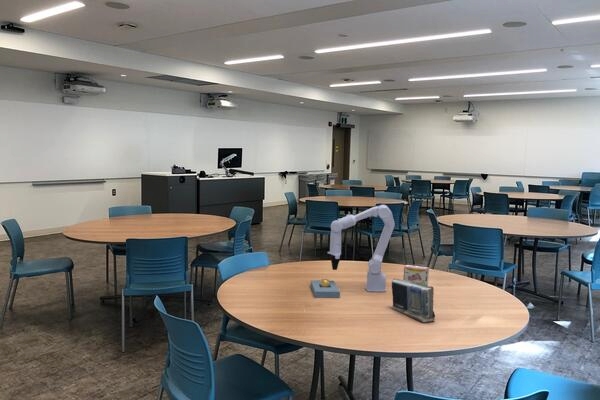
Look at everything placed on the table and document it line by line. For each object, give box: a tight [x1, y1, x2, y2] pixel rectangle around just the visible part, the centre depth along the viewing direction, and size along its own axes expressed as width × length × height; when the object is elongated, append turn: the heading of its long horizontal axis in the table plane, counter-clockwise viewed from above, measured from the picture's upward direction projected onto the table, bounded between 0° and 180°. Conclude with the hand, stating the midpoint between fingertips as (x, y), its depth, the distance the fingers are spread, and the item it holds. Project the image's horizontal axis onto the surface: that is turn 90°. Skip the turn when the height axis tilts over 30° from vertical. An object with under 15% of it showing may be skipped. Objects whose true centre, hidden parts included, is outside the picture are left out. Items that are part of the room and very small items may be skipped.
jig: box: [310, 279, 341, 299], centre depth 229 cm, size 12×20×3 cm, turn 5°
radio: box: [389, 278, 436, 323], centre depth 199 cm, size 23×9×15 cm, turn 22°
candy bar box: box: [402, 264, 430, 287], centre depth 219 cm, size 11×5×16 cm, turn 65°
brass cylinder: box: [321, 278, 330, 287], centre depth 229 cm, size 4×4×6 cm
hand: (334, 269), depth 237 cm, fingers closed
